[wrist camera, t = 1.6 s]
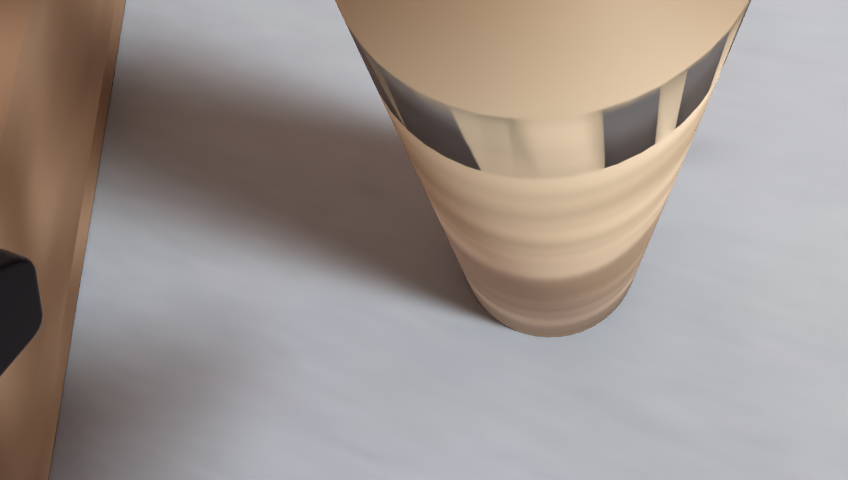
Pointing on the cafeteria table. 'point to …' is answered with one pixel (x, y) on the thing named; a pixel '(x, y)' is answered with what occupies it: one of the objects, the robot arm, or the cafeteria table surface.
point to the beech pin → (546, 134)
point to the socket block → (49, 193)
